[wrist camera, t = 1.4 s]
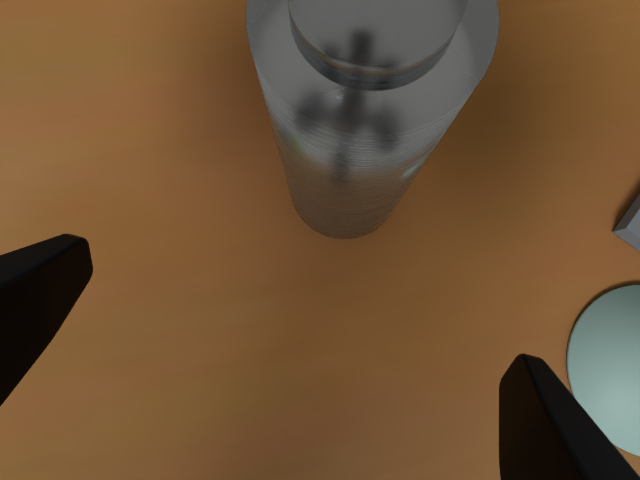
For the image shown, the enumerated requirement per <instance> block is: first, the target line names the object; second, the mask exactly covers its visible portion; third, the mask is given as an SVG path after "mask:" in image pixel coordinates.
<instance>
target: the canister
mask: <svg viewBox="0 0 640 480" xmlns="http://www.w3.org/2000/svg"><path fill="white" fill-rule="evenodd" d="M246 29H247V35H248V41H249V45H250V49H251V52H252V56H253V59H254V63H255V67H256V70H257V74H258V78H259V81H260V85H261V88H262V92H263V96H264V99H265V103H266V107H267V110H268V114H269V117H270V121H271V125H272V128H273V132H274V136H275V139H276V143H277V146H278V150H279V154H280V157H281V161H282V165H283V168H284V172H285V175H286V179H287V183H288V186H289V190H290V194H291V197H292V201H293V204H294V206H295V208H296V211H297V212H298V214H299V215H300V217H301V218H302V219H303V221H304V222H305V223H306V224H307V225H308V226H310V227H311V228H312V229H314V230H315V231H317V232H319V233H321V234H323V235H325V236H328V237H332V238H338V239H351V238H357V237H360V236H364V235H366V234H368V233H370V232H372V231H374V230H375V229H377V228H378V227H379V226H380V225H381V224H382V223H383V222H384V221H385V220H386V219H387V218H388V216H389V215H390V213H391V212H392V210H393V209H394V207H395V206H396V204H397V203H398V201H399V200H400V199H401V197H402V196H403V194H404V193H405V191H406V190H407V188H408V187H409V185H410V184H411V182H412V181H413V179H414V178H415V176H416V175H417V173H418V172H419V170H420V169H421V168H422V166H423V165H424V163H425V162H426V160H427V159H428V157H429V156H430V154H431V153H432V151H433V150H434V148H435V147H436V145H437V144H438V142H439V141H440V139H441V138H442V136H443V135H444V134H445V132H446V131H447V129H448V128H449V126H450V125H451V123H452V122H453V120H454V119H455V117H456V116H457V114H458V113H459V111H460V110H461V108H462V107H463V105H464V104H465V103H466V101H467V100H468V98H469V97H470V95H471V94H472V92H473V91H474V89H475V88H476V86H477V85H478V83H479V82H480V80H481V79H482V77H483V76H484V74H485V73H486V70H487V68H488V66H489V64H490V62H491V60H492V57H493V54H494V51H495V48H496V44H497V38H498V32H499V12H498V4H497V0H248V1H247V9H246Z"/></svg>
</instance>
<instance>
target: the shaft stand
mask: <svg viewBox="0 0 640 480" xmlns="http://www.w3.org/2000/svg"><path fill="white" fill-rule="evenodd" d="M613 233H614V234H616V235H617V236H618V237H620V238H621V239H623V240H624V241H625V242H627V243H628V244H629V245H631V246H632V247H634V248H635V249H636V250H638V251H639V252H640V193H639V195H638V196H637V198H636V199H635V200H634V202H633V203H632V205H631V206H630V208H629V209H628V210H627V212H626V213H625V215H624V216H623V218H622V219H621V220H620V222H619V223H618V225H617V226H616V227H615V229H614V230H613Z"/></svg>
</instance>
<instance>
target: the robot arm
mask: <svg viewBox="0 0 640 480" xmlns="http://www.w3.org/2000/svg"><path fill="white" fill-rule="evenodd" d="M92 273H93V265H92V259H91V254H90V248H89V243H88V241H87V240H86V239H85V238H83V237H79V236H75V235H71V234H62V235H59V236H56V237H53V238H50V239H47V240H44V241H41V242H39V243H36V244H33V245H30V246H27V247H24V248H21V249H18V250H15V251H12V252H9V253H6V254H3V255H0V406H1V405H2V404H3V402H4V401H5V400H6V399H7V397H8V396H9V395H10V393H11V392H12V391H13V390H14V388H15V387H16V386H17V384H18V383H19V382H20V381H21V379H22V378H23V377H24V375H25V374H26V373H27V372H28V370H29V369H30V368H31V367H32V365H33V364H34V363H35V361H36V360H37V359H38V358H39V356H40V355H41V354H42V352H43V351H44V350H45V349H46V347H47V346H48V345H49V343H50V342H51V341H52V339H53V338H54V336H55V335H56V333H57V332H58V330H59V329H60V327H61V325H62V324H63V322H64V321H65V319H66V317H67V316H68V314H69V313H70V311H71V309H72V308H73V306H74V305H75V303H76V301H77V300H78V298H79V297H80V295H81V293H82V292H83V290H84V289H85V287H86V285H87V284H88V282H89V280H90V279H91V276H92ZM499 465H500V477H501V480H640V477H639V475H638V474H637V473H636V472H635V470H634V469H633V468H632V467H631V466H630V464H629V463H628V462H627V461H626V460H625V458H624V457H623V456H622V455H621V453H620V452H619V451H618V450H617V449H616V447H615V446H614V445H613V444H612V443H611V441H610V440H609V439H608V438H607V436H606V435H605V434H604V433H603V432H602V430H601V429H600V428H599V427H598V425H597V424H596V423H595V422H594V421H593V419H592V418H591V417H590V416H589V415H588V413H587V412H586V411H585V410H584V408H583V407H582V406H581V405H580V404H579V402H578V401H577V400H576V399H575V398H574V396H573V395H572V394H571V393H570V391H569V390H568V389H567V388H566V387H565V385H564V384H563V383H562V382H561V380H560V379H559V378H558V377H557V376H556V374H555V373H554V372H553V371H552V370H551V368H550V367H549V366H548V365H547V363H546V362H545V361H544V360H543V359H541V358H539V357H535V356H531V355H527V354H519V355H518V356H517V357H516V358H515V359H514V361H513V362H512V364H511V365H510V367H509V368H508V369H507V371H506V372H505V374H504V375H503V377H502V379H501V381H500V385H499Z"/></svg>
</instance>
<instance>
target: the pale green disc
mask: <svg viewBox="0 0 640 480" xmlns="http://www.w3.org/2000/svg"><path fill="white" fill-rule="evenodd" d="M566 368H567V376H568V381H569V385H570V389H571V392H572V394H573V396H574V398H575V399H576V400H577V401H578V402H579V404H580V405H581V406H582V407H583V408H584V410H585V411H586V412H587V413H588V415H589V416H590V417H591V418H592V419H593V421H594V422H595V423H596V424H597V425H598V427H599V428H600V429H601V430H602V432H603V433H604V434H605V435H606V436H607V438H608V439H609V440H610V441H611V443H612V444H614V445H615V446H617V447H619V448H621V449H623V450H625V451H627V452H629V453H632V454H634V455H637V456H640V285H631V286H625V287H620V288H617V289H614V290H611V291H609V292H607V293H605V294H603V295H602V296H600V297H599V298H597V299H596V300H594V301H593V302H592V303H591V304H590V305H589V306H588V307H587V308H586V309H585V310H584V311H583V312H582V314H581V315H580V316H579V318H578V320H577V321H576V323H575V325H574V327H573V329H572V332H571V334H570V338H569V342H568V346H567V354H566Z"/></svg>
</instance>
